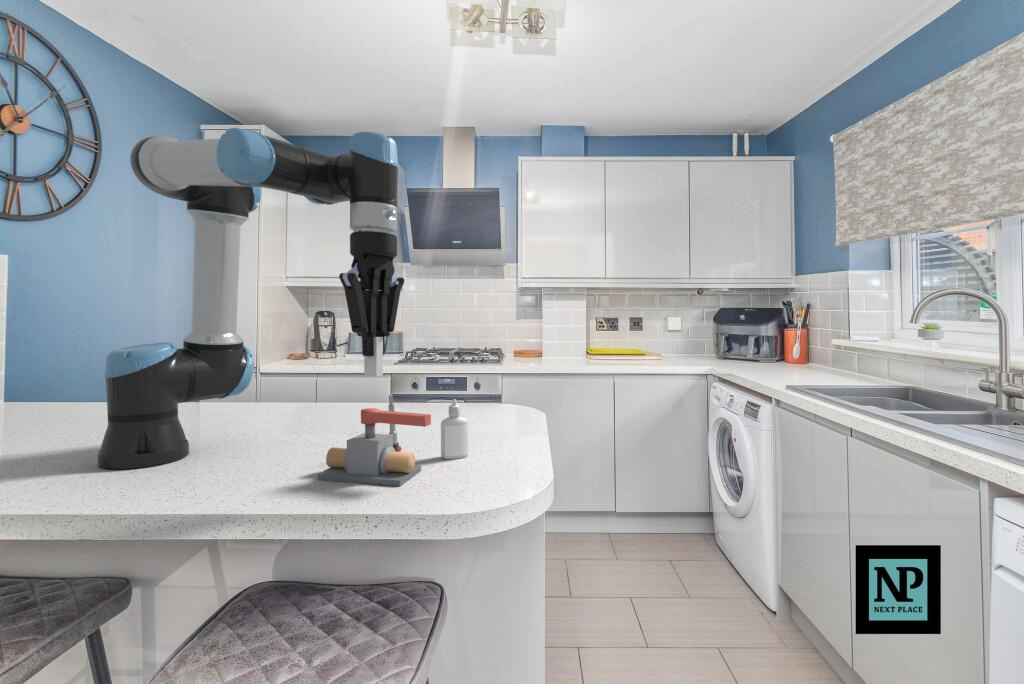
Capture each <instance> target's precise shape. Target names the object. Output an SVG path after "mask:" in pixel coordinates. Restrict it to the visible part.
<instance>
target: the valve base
mask: <svg viewBox="0 0 1024 684" xmlns="http://www.w3.org/2000/svg"><path fill="white" fill-rule="evenodd" d="M325 458H326V459H325V461H326V465H327V467H329V468H326V469H325V470H323V471H321V472H319V473H317V480H318V479H319V480H320V481H321V480H322V481H330V480H331V482H332V481H334V482H342V483H345V482H346V483H353V484H354V483H355V484H366V485H367V483H368V484H369V485H378V484H382V486H390V485H394V486H393V487H401V486H403V485H404V484H405V483H407V482H408V481H409V480H410V479H412V478H414V477H415V476H416V475H417V474H419V473H421V472H422V465H418V464H417V465H416V456H415V453H414V452H409V451H408V452H407V451H406V452H404V451H400V452H396V451H395V449H394V448H393V435H391V434H389V433H376V423H375V424H364V432H363V433H360V434H359V435H356V436H353V437H352V438H349V439H346V447H345V448H344V447H330V448H329V450H327V453H326V456H325ZM402 484H403V485H402Z"/></svg>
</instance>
